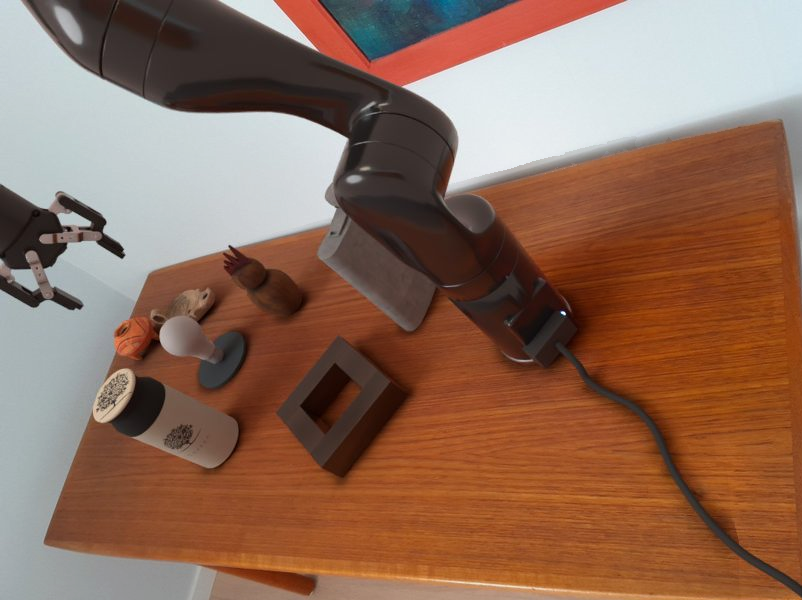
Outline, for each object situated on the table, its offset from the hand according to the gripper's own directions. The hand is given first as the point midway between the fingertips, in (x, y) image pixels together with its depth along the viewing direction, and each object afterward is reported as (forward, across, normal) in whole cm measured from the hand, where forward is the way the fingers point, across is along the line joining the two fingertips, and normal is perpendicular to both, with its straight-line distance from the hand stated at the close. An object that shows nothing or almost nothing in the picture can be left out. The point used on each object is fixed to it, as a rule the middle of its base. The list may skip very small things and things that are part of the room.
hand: (102, 280), depth 87 cm
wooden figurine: (+24, +12, -2) cm, 27 cm away
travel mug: (+24, -10, -10) cm, 28 cm away
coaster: (+24, -2, +3) cm, 24 cm away
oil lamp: (+24, -1, +19) cm, 31 cm away
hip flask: (+25, +27, -23) cm, 43 cm away
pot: (+24, -11, +25) cm, 36 cm away
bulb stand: (+25, +7, -27) cm, 37 cm away
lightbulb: (+24, -2, +3) cm, 24 cm away
